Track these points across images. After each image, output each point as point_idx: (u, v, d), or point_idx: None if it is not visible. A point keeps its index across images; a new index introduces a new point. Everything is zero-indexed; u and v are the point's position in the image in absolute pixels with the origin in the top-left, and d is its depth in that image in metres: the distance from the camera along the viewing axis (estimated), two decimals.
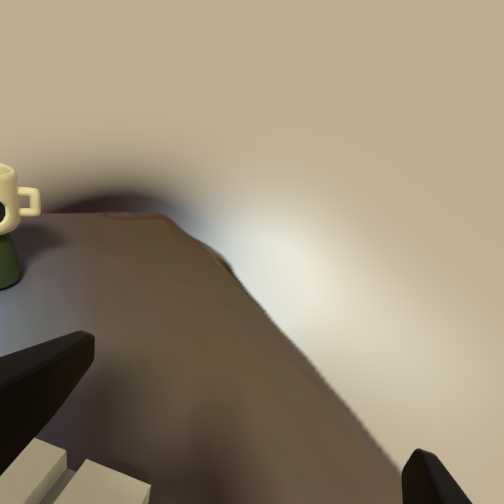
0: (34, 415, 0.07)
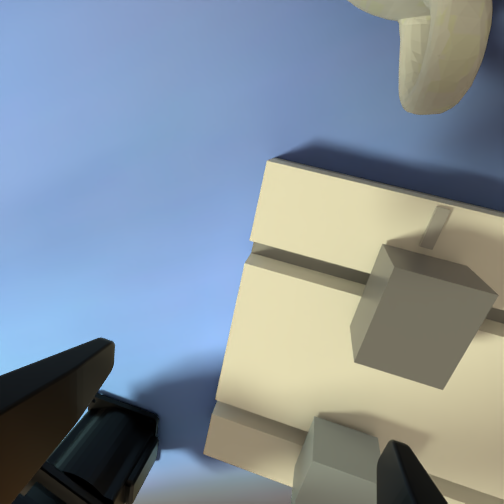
0: (57, 424, 0.07)
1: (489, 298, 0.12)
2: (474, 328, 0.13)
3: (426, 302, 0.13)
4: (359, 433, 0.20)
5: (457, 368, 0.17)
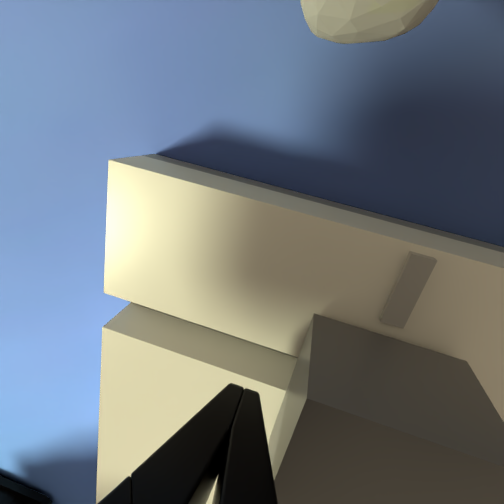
0: (210, 485, 0.07)
1: None
2: None
3: (378, 469, 0.06)
4: None
5: None
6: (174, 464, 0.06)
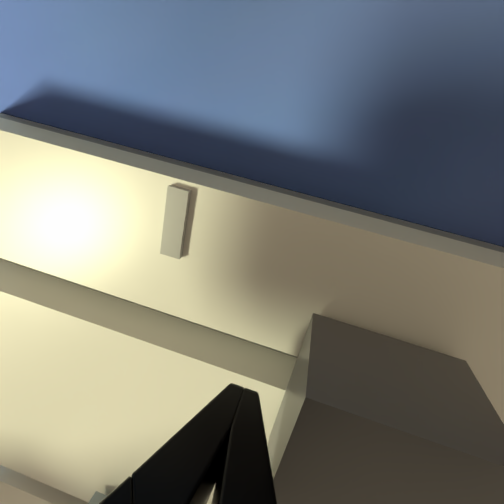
0: (211, 485, 0.07)
1: None
2: None
3: (377, 468, 0.06)
4: None
5: None
6: (174, 464, 0.06)
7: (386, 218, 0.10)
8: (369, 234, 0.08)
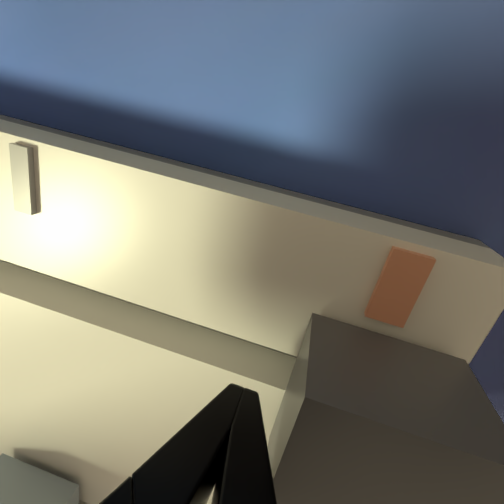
0: (211, 485, 0.07)
1: None
2: None
3: (376, 467, 0.06)
4: (53, 479, 0.14)
5: (136, 395, 0.12)
6: (175, 464, 0.06)
7: (233, 178, 0.10)
8: (186, 184, 0.08)
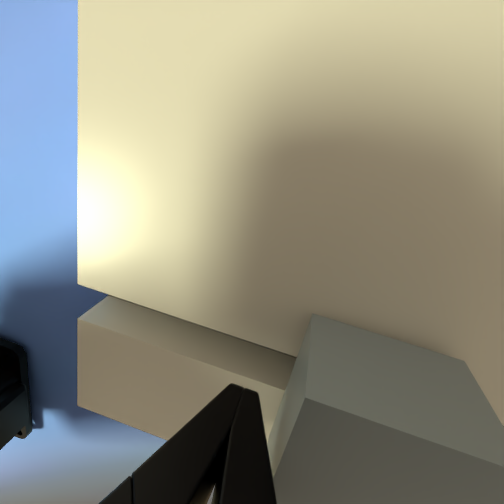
0: (211, 485, 0.07)
1: None
2: None
3: None
4: (420, 350, 0.08)
5: None
6: (175, 464, 0.06)
7: None
8: None
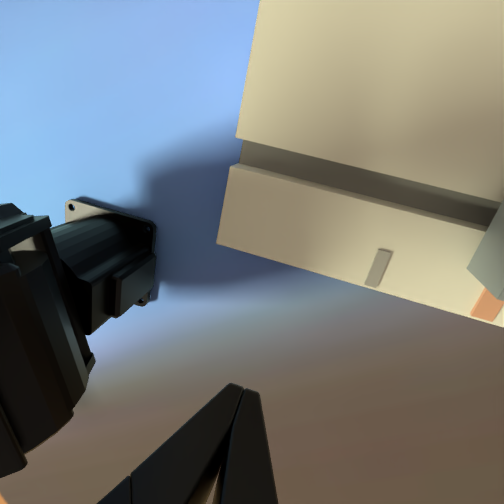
0: (210, 485, 0.07)
1: None
2: None
3: None
4: None
5: None
6: (173, 464, 0.06)
7: None
8: None
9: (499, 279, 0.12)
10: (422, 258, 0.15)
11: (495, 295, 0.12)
